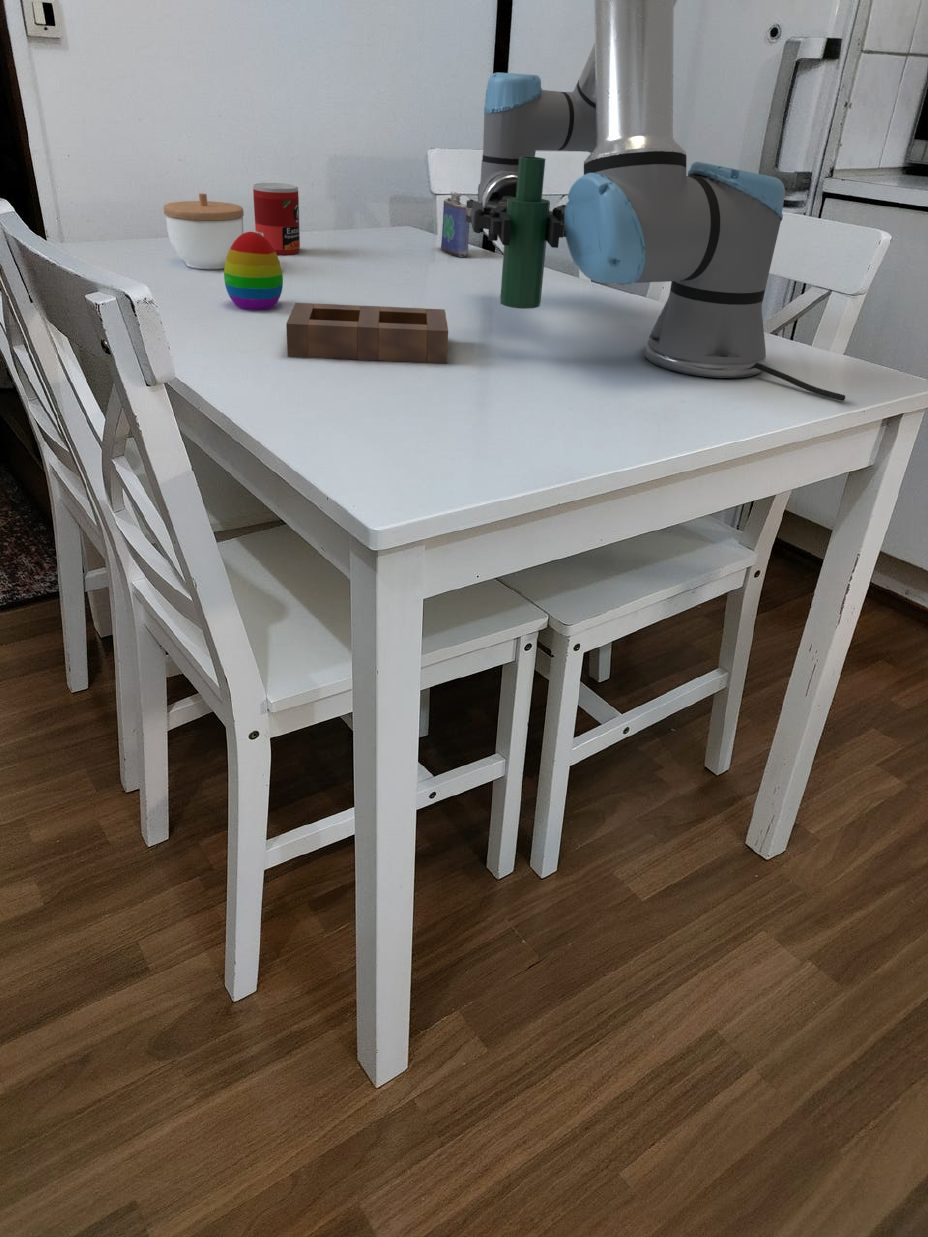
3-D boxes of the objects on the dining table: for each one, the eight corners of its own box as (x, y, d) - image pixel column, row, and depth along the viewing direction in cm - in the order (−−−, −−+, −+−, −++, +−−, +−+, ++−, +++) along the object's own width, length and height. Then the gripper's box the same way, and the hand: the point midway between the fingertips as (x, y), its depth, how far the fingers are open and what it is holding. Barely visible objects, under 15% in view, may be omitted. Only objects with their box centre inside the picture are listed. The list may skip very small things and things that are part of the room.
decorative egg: (225, 312, 131) (220, 236, 125) (226, 298, 137) (221, 225, 132) (285, 312, 132) (281, 237, 127) (283, 299, 139) (280, 227, 134)
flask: (470, 257, 176) (473, 195, 171) (456, 257, 175) (459, 195, 170) (450, 248, 183) (452, 188, 178) (436, 248, 182) (438, 188, 177)
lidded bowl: (230, 275, 151) (225, 201, 145) (156, 268, 152) (148, 195, 146) (257, 261, 161) (253, 192, 156) (187, 255, 163) (181, 186, 157)
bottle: (548, 305, 117) (562, 159, 109) (523, 310, 114) (535, 160, 105) (517, 297, 120) (528, 154, 111) (492, 302, 116) (502, 156, 108)
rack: (443, 339, 125) (444, 309, 123) (446, 363, 115) (448, 330, 113) (296, 333, 123) (295, 302, 121) (287, 356, 114) (286, 323, 112)
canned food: (291, 256, 167) (289, 189, 161) (249, 252, 168) (245, 185, 162) (306, 249, 173) (304, 185, 168) (265, 245, 175) (262, 181, 169)
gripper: (573, 238, 130) (604, 271, 110) (444, 232, 129) (452, 264, 109) (580, 179, 126) (613, 202, 106) (447, 172, 125) (455, 194, 105)
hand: (531, 233), depth 108 cm, fingers closed on bottle, 5 cm apart
